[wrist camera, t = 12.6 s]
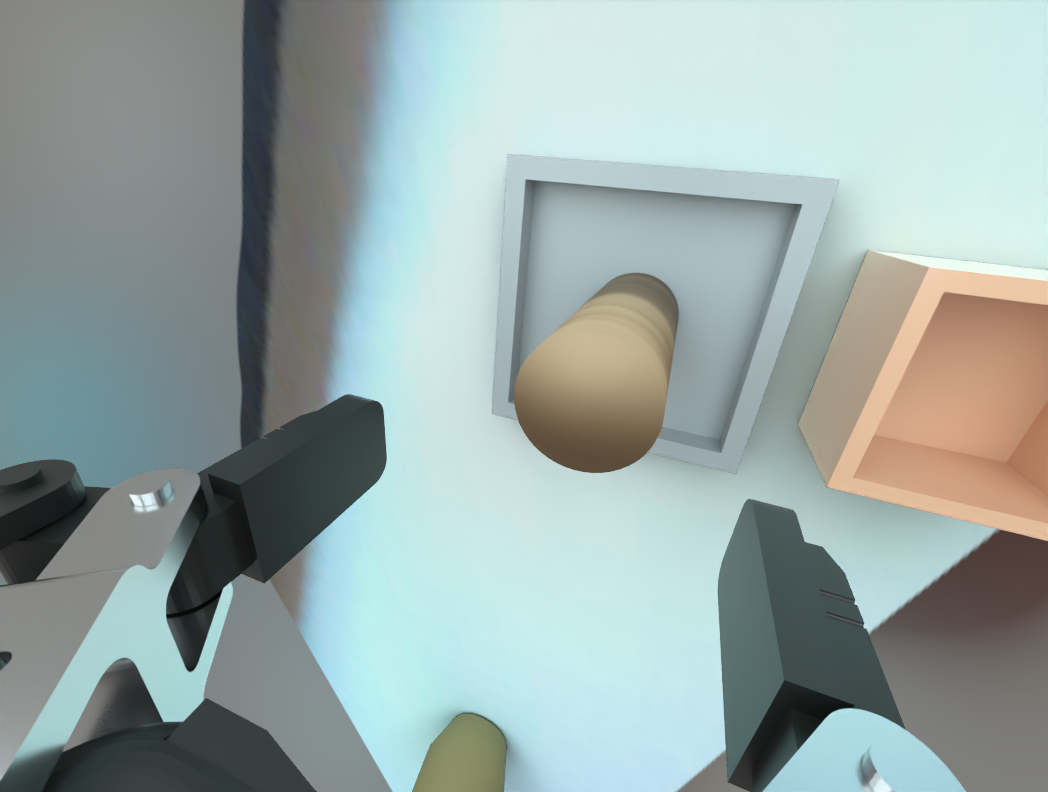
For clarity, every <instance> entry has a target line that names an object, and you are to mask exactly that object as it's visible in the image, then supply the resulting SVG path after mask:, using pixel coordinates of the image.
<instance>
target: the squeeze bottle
mask: <svg viewBox="0 0 1048 792" xmlns="http://www.w3.org/2000/svg"><path fill="white" fill-rule="evenodd" d="M505 764H506V739H505V738H504V736H503V735H502V733H501V731H500V730H499V729H497V728H496V727H495V726H494V725H493V724H492V723H491V722H489V721H487V720H486V719H484V718H482V717H480V716H477V715H474V714H466V713H462V714H460V715H458V716H456V717H455V718H454V719H453V720H452V722H451V723H450V724H449V725H448V726H447V727H446V728H445V729H444V730H443V732H442V733H441V734H440V735H439V736H438V737H437V738H436V739H435V740H434V742H433V743H432V744H431V745H430V747H429V750H428V752H427V755H426V757H425V760H424V762H423V765H422V767H421V770H420V772H419V775H418V778H417V780H416V783H415V785H414V788H413V790H412V792H504V781H505Z"/></svg>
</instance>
